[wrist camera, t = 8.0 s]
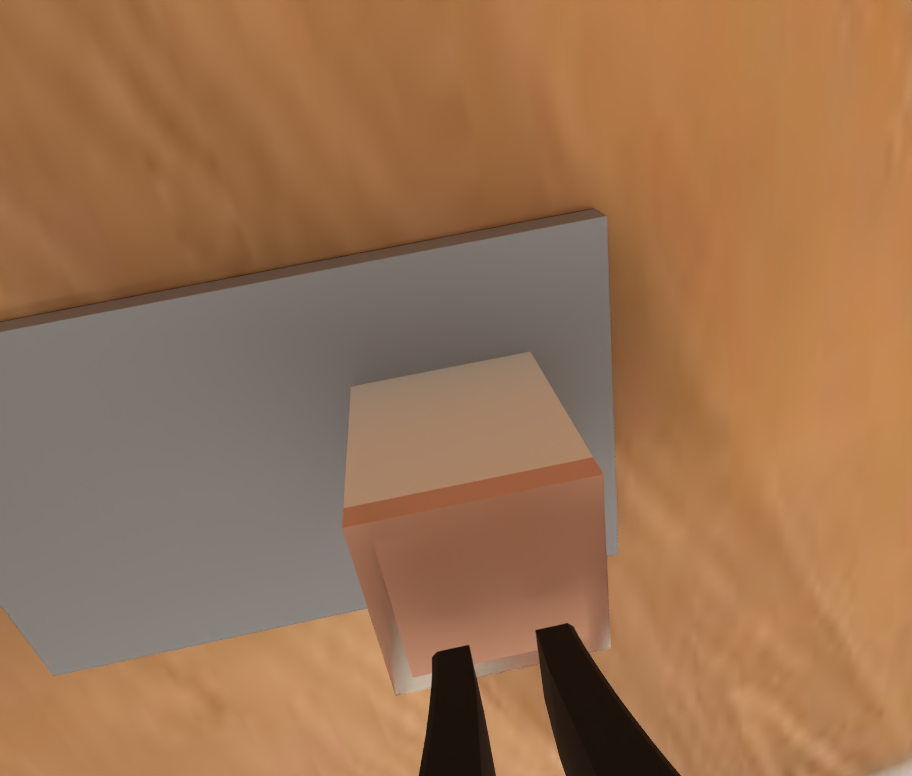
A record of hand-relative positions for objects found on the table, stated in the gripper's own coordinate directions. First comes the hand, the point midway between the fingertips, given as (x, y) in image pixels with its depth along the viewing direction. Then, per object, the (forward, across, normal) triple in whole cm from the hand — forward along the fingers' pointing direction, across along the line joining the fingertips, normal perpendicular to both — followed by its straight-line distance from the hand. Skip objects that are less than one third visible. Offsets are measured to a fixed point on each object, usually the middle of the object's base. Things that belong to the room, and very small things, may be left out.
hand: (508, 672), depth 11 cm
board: (+9, +5, 0) cm, 10 cm away
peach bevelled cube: (+8, 0, 0) cm, 8 cm away
